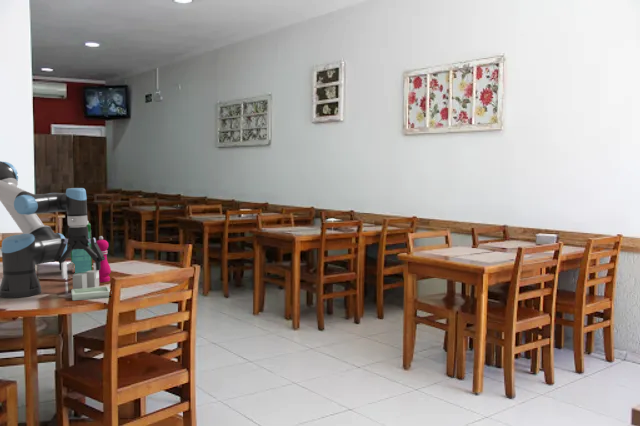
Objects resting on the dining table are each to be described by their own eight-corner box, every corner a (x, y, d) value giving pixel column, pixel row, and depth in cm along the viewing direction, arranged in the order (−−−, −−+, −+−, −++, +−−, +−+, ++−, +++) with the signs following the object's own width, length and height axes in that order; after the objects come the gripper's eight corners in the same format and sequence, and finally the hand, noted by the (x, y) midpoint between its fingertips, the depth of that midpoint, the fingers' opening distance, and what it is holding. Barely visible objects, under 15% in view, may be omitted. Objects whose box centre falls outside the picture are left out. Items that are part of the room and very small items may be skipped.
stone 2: (85, 288, 247) (85, 272, 247) (90, 286, 251) (89, 270, 251) (94, 288, 247) (94, 272, 246) (99, 286, 251) (98, 270, 250)
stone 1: (73, 292, 241) (72, 275, 240) (78, 290, 245) (77, 273, 244) (82, 292, 240) (81, 275, 240) (87, 290, 244) (86, 273, 244)
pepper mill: (105, 283, 259) (103, 237, 257) (90, 282, 260) (88, 237, 258) (114, 279, 266) (112, 235, 264) (99, 279, 267) (98, 234, 265)
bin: (72, 300, 226) (72, 294, 226) (71, 294, 236) (71, 289, 236) (111, 296, 232) (111, 291, 232) (108, 291, 242) (108, 286, 242)
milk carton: (92, 272, 284) (90, 220, 282) (71, 273, 280) (69, 221, 278) (92, 269, 292) (90, 218, 290) (72, 270, 289) (70, 219, 287)
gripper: (43, 227, 238) (46, 280, 239) (103, 226, 235) (105, 279, 237) (53, 225, 245) (56, 276, 247) (111, 225, 243) (114, 276, 244)
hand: (80, 278), depth 242 cm, fingers open, 13 cm apart
